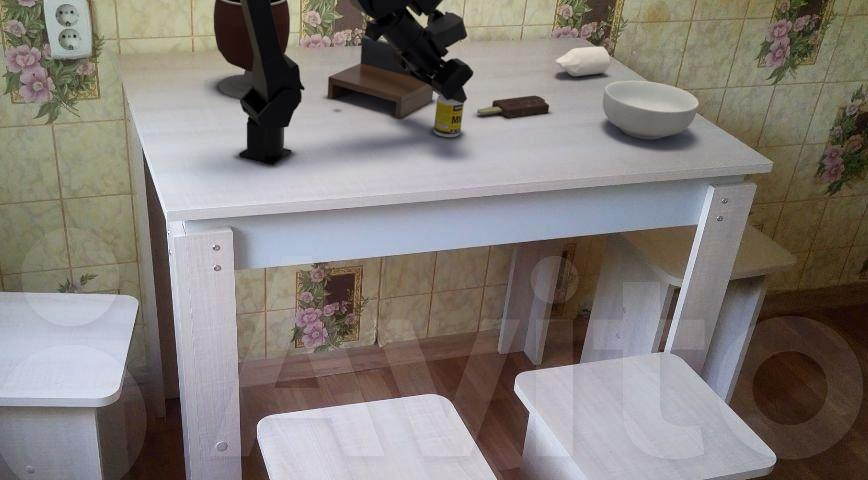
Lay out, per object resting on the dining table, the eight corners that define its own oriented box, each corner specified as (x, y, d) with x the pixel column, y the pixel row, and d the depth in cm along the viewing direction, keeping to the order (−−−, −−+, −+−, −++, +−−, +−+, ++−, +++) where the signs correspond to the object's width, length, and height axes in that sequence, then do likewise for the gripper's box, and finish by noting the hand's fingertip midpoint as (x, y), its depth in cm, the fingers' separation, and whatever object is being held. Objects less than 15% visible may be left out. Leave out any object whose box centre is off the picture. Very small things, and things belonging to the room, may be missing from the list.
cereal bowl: (705, 149, 175) (715, 111, 171) (617, 150, 173) (625, 111, 169) (666, 115, 189) (675, 78, 185) (584, 115, 186) (591, 78, 182)
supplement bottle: (452, 140, 172) (457, 93, 167) (428, 133, 174) (433, 86, 169) (464, 132, 175) (470, 86, 170) (441, 125, 177) (446, 79, 172)
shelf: (399, 118, 179) (403, 69, 174) (327, 97, 186) (329, 49, 181) (432, 101, 187) (437, 54, 182) (362, 81, 194) (364, 35, 189)
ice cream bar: (485, 121, 180) (551, 112, 186) (486, 112, 179) (553, 104, 185) (470, 111, 184) (535, 103, 190) (471, 103, 183) (537, 94, 189)
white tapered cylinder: (544, 73, 205) (548, 46, 202) (589, 68, 210) (594, 41, 207) (562, 83, 201) (567, 55, 198) (607, 77, 206) (612, 50, 203)
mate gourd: (261, 106, 180) (261, -7, 168) (200, 89, 185) (196, -22, 174) (307, 84, 191) (310, -24, 180) (248, 69, 196) (247, -36, 185)
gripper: (469, 14, 153) (519, 78, 163) (414, -16, 167) (463, 45, 177) (420, 69, 154) (472, 128, 165) (369, 34, 168) (420, 91, 178)
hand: (457, 96), depth 171 cm, fingers closed on supplement bottle, 4 cm apart
